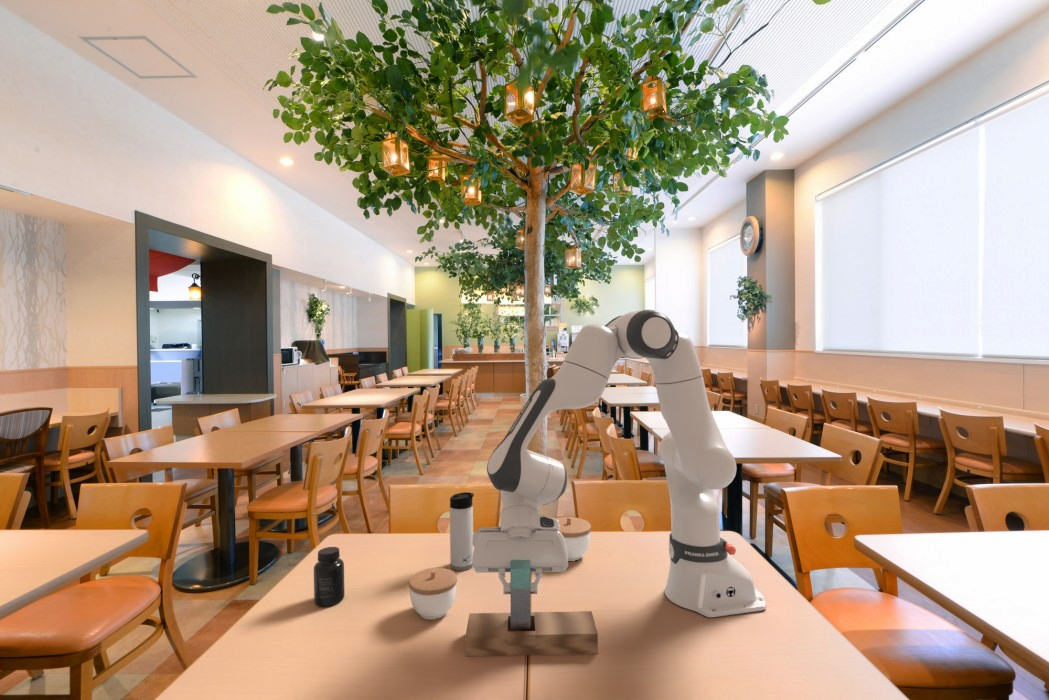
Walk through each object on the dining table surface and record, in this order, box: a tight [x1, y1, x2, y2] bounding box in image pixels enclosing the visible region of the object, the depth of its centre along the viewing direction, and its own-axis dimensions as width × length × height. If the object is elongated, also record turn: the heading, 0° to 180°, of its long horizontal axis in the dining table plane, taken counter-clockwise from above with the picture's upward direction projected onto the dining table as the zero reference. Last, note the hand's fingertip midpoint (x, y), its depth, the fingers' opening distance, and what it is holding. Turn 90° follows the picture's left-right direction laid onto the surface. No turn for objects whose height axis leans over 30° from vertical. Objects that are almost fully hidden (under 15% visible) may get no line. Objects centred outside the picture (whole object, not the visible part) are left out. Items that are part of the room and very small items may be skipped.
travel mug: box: [449, 491, 475, 572], centre depth 134 cm, size 6×7×20 cm
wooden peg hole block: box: [464, 610, 599, 657], centre depth 100 cm, size 26×8×4 cm, turn 91°
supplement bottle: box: [313, 546, 346, 608], centre depth 117 cm, size 7×7×12 cm
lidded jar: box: [408, 567, 458, 621], centre depth 111 cm, size 11×11×9 cm
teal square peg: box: [509, 560, 532, 628], centre depth 100 cm, size 4×4×12 cm
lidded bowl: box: [555, 516, 592, 562], centre depth 140 cm, size 13×13×11 cm
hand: (520, 593), depth 99 cm, fingers closed on teal square peg, 4 cm apart
